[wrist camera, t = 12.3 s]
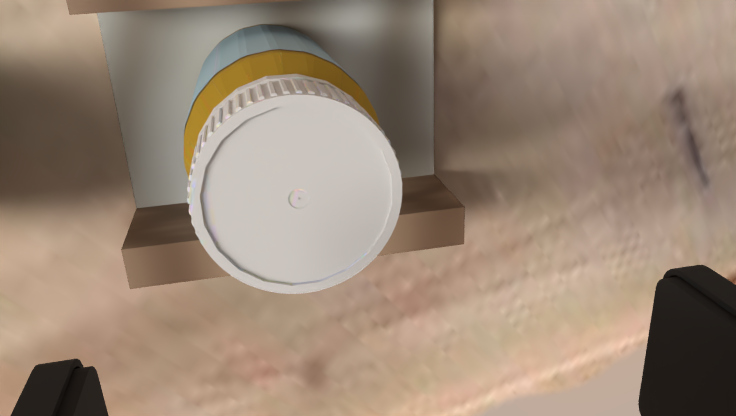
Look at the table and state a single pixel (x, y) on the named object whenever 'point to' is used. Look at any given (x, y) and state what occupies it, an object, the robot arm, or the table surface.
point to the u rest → (176, 88)
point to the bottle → (287, 164)
